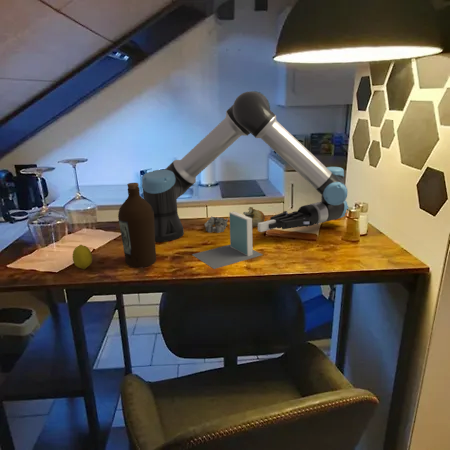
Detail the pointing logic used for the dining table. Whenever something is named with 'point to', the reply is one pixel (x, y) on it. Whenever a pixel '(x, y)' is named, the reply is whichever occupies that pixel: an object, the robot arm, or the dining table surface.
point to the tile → (241, 233)
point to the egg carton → (216, 224)
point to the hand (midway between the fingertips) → (259, 227)
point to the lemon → (82, 256)
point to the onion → (255, 216)
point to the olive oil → (137, 229)
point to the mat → (223, 256)
